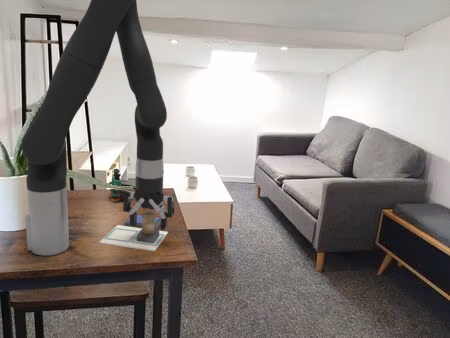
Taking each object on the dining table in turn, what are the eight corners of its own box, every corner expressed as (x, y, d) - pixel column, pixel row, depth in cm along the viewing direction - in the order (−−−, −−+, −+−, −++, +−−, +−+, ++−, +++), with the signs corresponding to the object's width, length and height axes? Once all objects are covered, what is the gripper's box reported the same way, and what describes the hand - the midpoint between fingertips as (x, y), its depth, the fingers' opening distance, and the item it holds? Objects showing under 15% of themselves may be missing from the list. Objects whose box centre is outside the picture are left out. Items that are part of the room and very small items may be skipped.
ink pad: (124, 226, 121) (124, 221, 121) (132, 217, 128) (132, 213, 127) (155, 230, 120) (155, 226, 119) (162, 221, 126) (162, 217, 126)
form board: (99, 243, 109) (99, 241, 109) (117, 226, 121) (117, 224, 121) (154, 251, 107) (154, 249, 107) (167, 232, 119) (167, 231, 118)
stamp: (136, 241, 111) (136, 214, 109) (142, 233, 116) (143, 208, 114) (153, 243, 111) (154, 217, 108) (159, 236, 115) (159, 210, 113)
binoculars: (140, 176, 139) (111, 174, 135) (137, 204, 142) (108, 203, 138) (136, 169, 147) (109, 167, 143) (133, 195, 150) (106, 194, 146)
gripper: (119, 174, 105) (119, 229, 110) (170, 180, 103) (168, 236, 108) (130, 167, 112) (129, 219, 117) (178, 172, 111) (176, 225, 115)
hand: (148, 227), depth 112 cm, fingers open, 8 cm apart
